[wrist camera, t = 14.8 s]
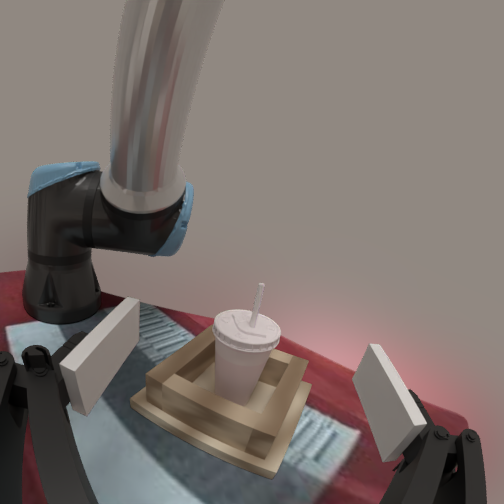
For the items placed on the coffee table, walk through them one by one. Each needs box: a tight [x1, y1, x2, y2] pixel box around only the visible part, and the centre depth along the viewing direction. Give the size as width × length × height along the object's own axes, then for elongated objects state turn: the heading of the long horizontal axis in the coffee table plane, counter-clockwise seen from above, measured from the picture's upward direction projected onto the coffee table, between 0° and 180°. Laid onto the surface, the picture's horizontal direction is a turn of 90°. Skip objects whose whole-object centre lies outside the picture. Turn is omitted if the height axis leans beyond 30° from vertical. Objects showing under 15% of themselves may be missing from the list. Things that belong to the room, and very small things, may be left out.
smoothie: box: [212, 283, 281, 406], centre depth 26 cm, size 6×6×14 cm
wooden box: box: [130, 325, 312, 479], centre depth 27 cm, size 16×15×6 cm
